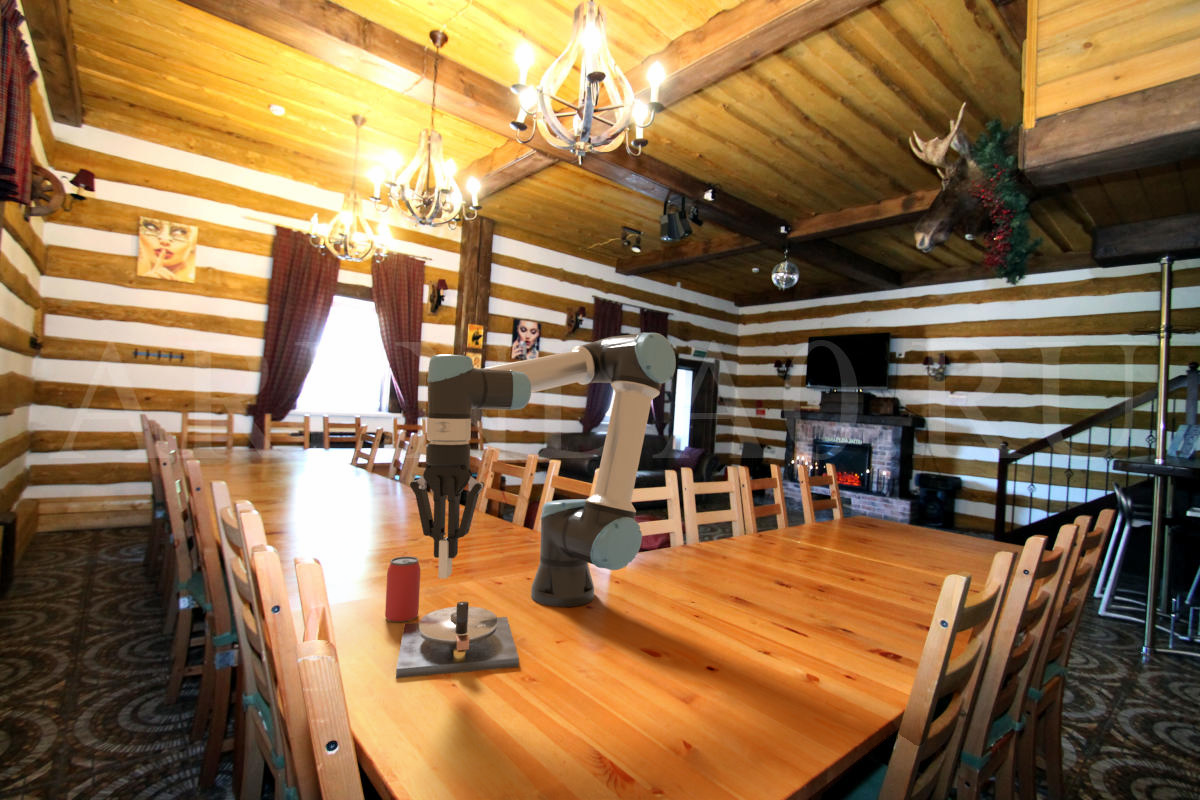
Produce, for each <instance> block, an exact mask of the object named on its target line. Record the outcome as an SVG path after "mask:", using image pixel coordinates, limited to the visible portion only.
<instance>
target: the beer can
mask: <svg viewBox="0 0 1200 800" xmlns="http://www.w3.org/2000/svg"><path fill="white" fill-rule="evenodd" d="M389 561H390V564H389V566H388V568H387V573H386V593H385V612H384V615H385V618H386V620H387V621H389V622H392V623H405V621H406V622H409V620H410V621H413V620H414V619H416V618H417V617H418V616H419V610H420V609H419V608H420V607H419V605H420V587H421V586H420V585H421V567H420V566H421V565H420V563H419V559H418V557H415V556H399V557H395V558H392V559H391V560H389Z"/></svg>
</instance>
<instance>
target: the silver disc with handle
mask: <svg viewBox="0 0 1200 800" xmlns="http://www.w3.org/2000/svg"><path fill="white" fill-rule="evenodd" d="M469 604H470V603H469V601H458V602H457V603H456V606H451V607H444V608H441V609H437V610H434V611H431V612H428V613H427V614H425V615H424V616H422V618H420V621H419V622H418V623H419V634H420V636H421V637H422V638H423V639H425V640H427V641H429V642H433V643H437V644H445V645H456V649H457V650H467V649H469V643H473V642H477V641H480V640H483V639H485V638H487V637H489V636H491V635H492V634H493V633H494V632H495V631H496V629H497V617H498V616H497V614H495V612H493V611H491V610H489V609H487V608H483V607H476V606H469Z"/></svg>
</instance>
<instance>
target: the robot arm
mask: <svg viewBox="0 0 1200 800" xmlns="http://www.w3.org/2000/svg"><path fill="white" fill-rule="evenodd" d="M676 361H677V360H676V354H675V351H674V349H673V347H672V343H670V341H669V340H668V338H667V337H665V336H664V335H662V334H661V333H657V332H640V333H634V334H627V335H626V334H625V335H615V336H613V335H612V336H609V337H606V338H601V339H599V340H595V341H593V342H589V343H586V344H581V345H577V346H574V347H573V348H571V350H569V351H567V352H561V353H557V354H551V355H546V356H541V357H536V358H535V357H534V358H530V359H525V360H518V361H514V362H510V363H509V362H508V363H504V364H498V365H494V366H488V367H484V368H477V367H474V364H473V363H474V362H473V359H472V358H471V357H470V356H468V355H461V354H436V355H433V356H432V357H431V358H430V360H429V364H428V371H427V380H426V382H427V417H426V440H427V441H429V443H428V444H427V445H426V446H425V469H424V471H423V474H422V476H421V477H419V478H418V479H416V480H413V481H411V482H410V484H409V487H410V488H411V490H412V491H413V493H414V495H415V498H416V499H415V500H416V504H417V509H418V513H419V520H420V523H421V528H422V529H421V530H422V532H423V533H422V534H423V535H424V536H426V537H429V538H432V539H433V556H434V557H433V558H436V559H437V558H438V569H437V571H438V574H437V575H438V576H437V578H438V579H448V578H449V577H450V576H451V575H452V574H453V559H455V558H456V557H457V555H458V553H459V551H458V549H459V547H458V546H459V539H460V538H464V537H465V536H466V535H467V534H469V531H470V528H471V524H472V520H473V516H474V514H475V509H476V505H477V502H478V498H479V495H480V494H481V492H482V490H483V489H484V488H485V482H483V481H478V480H477V479H476V478H475V477H473V473H472V470H471V467H470V466H471V445H470V444H469V443H468V442H469V441H471V437H472V436H471V433H472V432H471V431H472V429H471V428H472V410H502V411H503V410H505V411H506V410H507V411H513V410H523V409H524V408H525V407H526V406H528V404H529V403H530V399H531V397H532V393H538V392H540V391H545V390H549V389H554V388H558V387H562V386H565V385H571V384H576V383H578V384H579V385H582V386H584V385H588V384H595V383H597V384H598V383H602V384H603V383H604V384H605V383H606V384H608V383H609V384H610V385H611V387H612V389H613V390H614V397H613V398H614V399H613V404H612V408H611V413H610V417H609V423H608V427H607V431H606V436H605V440H604V445H603V450H602V455H601V459H600V464H599V469H598V473H597V478H596V481H595V482H596V483H595V487H594V492H593V494H592V495H590V496H589V497H588V498H586V499H585V498H584V499H582V498H581V499H580V498H578V499H558V500H550V501H547V502H545V503H544V504H543V506H542V510H541V516H540V522H541V523H540V551H539V552H540V553H539V557H540V558H539V563H538V564H539V565H538V567H537V570H536V573H535V576H534V579H533V581H532V584H531V589H530V591H531V593H530V596H531V597H530V598H531V599H533V601H535V602H537V603H538V604H542V605H545V606H550V607H558V608H560V607H561V608H562V607H563V608H568V607H569V608H570V607H579V606H583V605H585V604H589V603H590V602H592V601H593V600H594V598H595V585H594V581H593V578H592V574H591V571H590V567H589V564H591V565H593V566H595V567H596V568H600V569H606V570H609V571H610V570H611V571H618V570H621V569H624V568H626V567H627V566H628V565H629V564H630V563H632V562H633V560H634V559H635V558H636V556H637V555H638V553H639V551H640V549H641V545H642V539H643V534H642V530H640V529H641V526H640V525H639V523H638V522H637V521H636V520H635V519H636V513H637V510H636V508H635V507H634V505H633V503H632V499H633V494H634V490H635V489H634V488H635V484H636V481H637V480H636V479H637V475H638V468H639V465H640V459H641V454H642V450H643V449H642V448H643V445H644V440H645V435H646V429H647V426H648V425H647V423H648V420H649V414H650V409H651V404H652V400H654V399H655V398H657V397H658V396H659V395H660V393H661V389H662V385H663V384H665V383H667V382H668V381H670V379H671V378H673V376H674V374H675V372H676ZM467 485H468V487H467ZM427 487H429V488H430V489H431V491H432V493H433V495H432V498H433V512H432V508H431V503H430V497H429V493H428V489H427ZM466 487H467V488H468V489H467V490H468V491H469V492H468V495H467V498H466V501H465V504H464V509H463V512H462V517H461V520H460V508H461V506H460V504H461V503H460V502H461V501H460V500H461V496H462V492H463V491H464V489H465V488H466ZM446 499H447V500H446ZM447 502H448V507H446V505H447ZM446 508H448V509H447V510H448V511H447V515H448V516H447V532H446ZM446 535H447V536H446Z"/></svg>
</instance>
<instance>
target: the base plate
mask: <svg viewBox="0 0 1200 800" xmlns="http://www.w3.org/2000/svg"><path fill="white" fill-rule="evenodd" d="M519 659H520V657H519V654H518V651H517V648H516V643H515V640H514V636H513V634H512V630H511V627H510V623H509V620H508V617H507V616H501V617H500V616H497V629H496V631H495V632H494V633H493V634H492V635H491V636H489V637H487V638H485V639H483V640H480V641H477V642H473V643H469V649H467V650H457V649H456V645H445V644H437V643H433V642H429V641H427V640H425V639H423V638H422V637H421V636H420V634H419V622H409V623H404V626H403V631H402V637H401V642H400V647H399V653H398V658H397V664H396V670H395V679H400V678H401V679H402V678H411V677H412V678H413V677H424V676H431V675H432V676H434V675H444V674H455V673H456V674H457V673H465V672H475V671H488V670H498V669H507V668H508V669H510V668H519V662H520V661H519Z"/></svg>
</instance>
